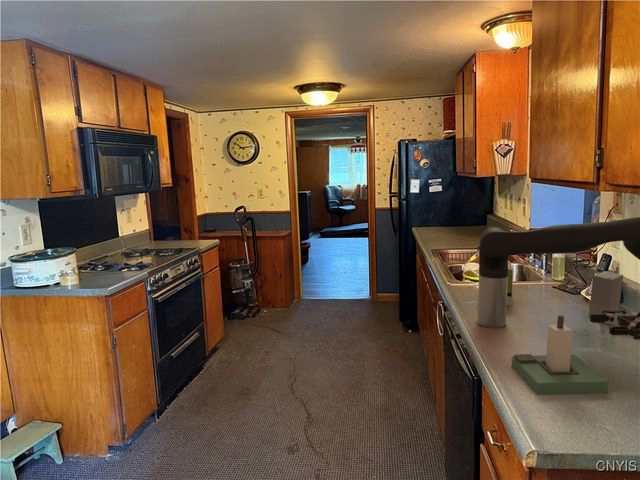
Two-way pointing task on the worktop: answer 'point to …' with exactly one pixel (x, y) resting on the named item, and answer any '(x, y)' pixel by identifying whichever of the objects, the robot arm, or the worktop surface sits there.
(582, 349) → the worktop surface
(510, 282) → the tea box
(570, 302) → the worktop surface
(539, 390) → the green square socket base
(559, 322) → the plug
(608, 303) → the skincare box
